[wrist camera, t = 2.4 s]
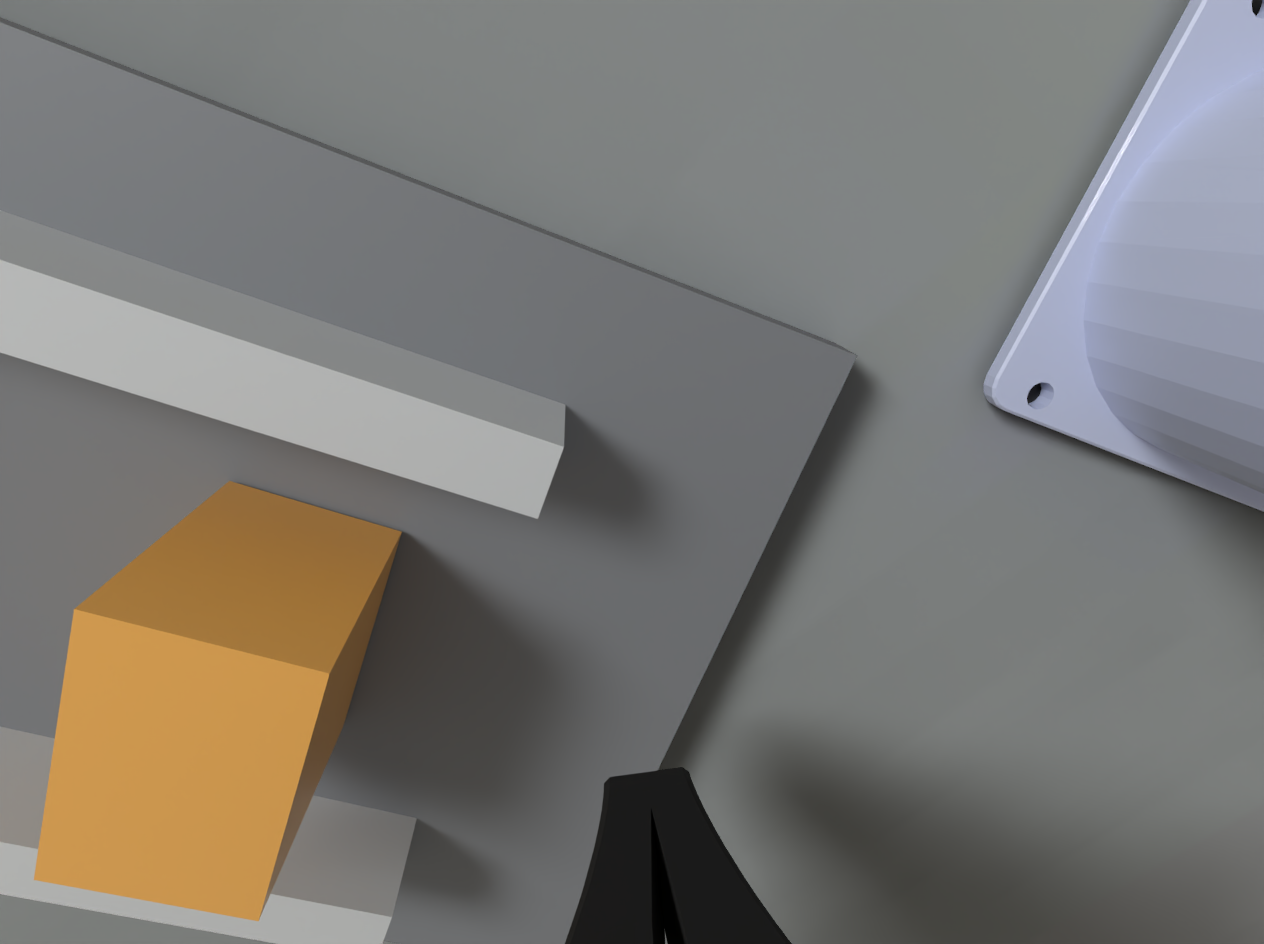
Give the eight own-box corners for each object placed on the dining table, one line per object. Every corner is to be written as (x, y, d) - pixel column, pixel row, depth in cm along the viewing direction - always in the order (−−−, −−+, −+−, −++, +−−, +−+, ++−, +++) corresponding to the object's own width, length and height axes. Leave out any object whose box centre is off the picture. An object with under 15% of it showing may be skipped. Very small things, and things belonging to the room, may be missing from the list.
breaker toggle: (401, 531, 13) (329, 673, 9) (343, 725, 15) (258, 921, 11) (229, 480, 13) (74, 609, 9) (185, 688, 14) (33, 880, 10)
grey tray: (834, 342, 14) (915, 388, 11) (560, 927, 19) (558, 1081, 15) (-273, -90, 10) (-660, -221, 7) (-257, 765, 15) (-483, 919, 12)
